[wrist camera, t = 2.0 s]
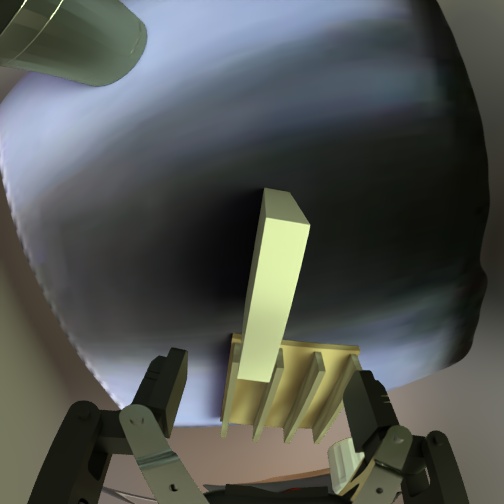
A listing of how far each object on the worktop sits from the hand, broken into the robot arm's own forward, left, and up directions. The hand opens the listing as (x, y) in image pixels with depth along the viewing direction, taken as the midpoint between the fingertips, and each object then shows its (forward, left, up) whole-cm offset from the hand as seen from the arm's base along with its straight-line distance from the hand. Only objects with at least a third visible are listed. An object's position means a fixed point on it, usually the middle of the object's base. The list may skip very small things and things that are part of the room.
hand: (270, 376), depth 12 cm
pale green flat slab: (0, 0, -17) cm, 17 cm away
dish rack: (+6, -20, -17) cm, 27 cm away
